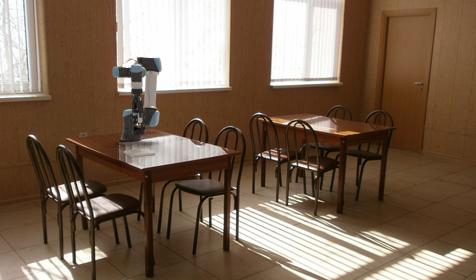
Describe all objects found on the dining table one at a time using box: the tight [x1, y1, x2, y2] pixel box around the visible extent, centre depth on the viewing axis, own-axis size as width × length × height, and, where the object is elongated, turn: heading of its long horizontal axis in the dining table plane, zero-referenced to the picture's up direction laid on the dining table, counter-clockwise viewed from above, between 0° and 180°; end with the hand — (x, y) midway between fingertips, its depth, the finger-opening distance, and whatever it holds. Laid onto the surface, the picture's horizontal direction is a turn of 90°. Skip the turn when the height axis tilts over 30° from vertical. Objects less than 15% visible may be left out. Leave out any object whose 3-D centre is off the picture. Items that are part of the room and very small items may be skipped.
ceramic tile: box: [123, 148, 156, 158], centre depth 306 cm, size 14×16×2 cm
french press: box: [129, 108, 147, 136], centre depth 315 cm, size 12×9×23 cm
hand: (137, 121), depth 316 cm, fingers closed on french press, 9 cm apart
